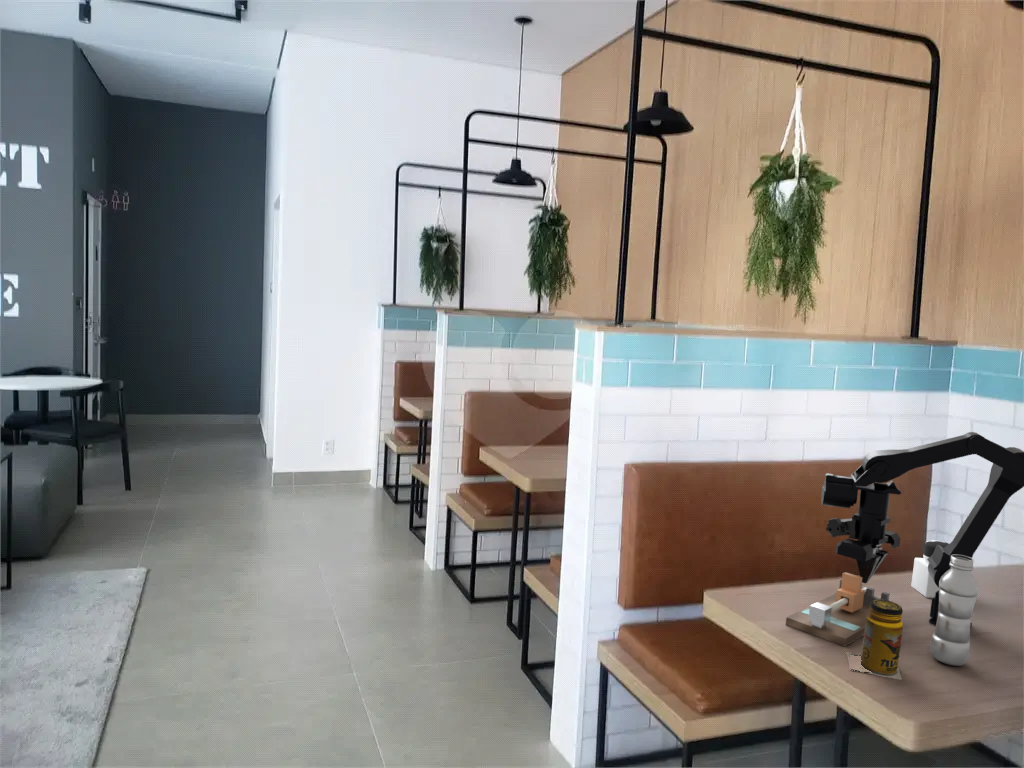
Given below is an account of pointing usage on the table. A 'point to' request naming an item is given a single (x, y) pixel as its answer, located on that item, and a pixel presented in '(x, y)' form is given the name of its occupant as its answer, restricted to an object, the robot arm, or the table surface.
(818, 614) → the block
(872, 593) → the cable comb
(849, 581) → the orange stepped block
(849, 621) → the cord board
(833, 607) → the cord
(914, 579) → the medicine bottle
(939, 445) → the robot arm
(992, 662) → the table surface
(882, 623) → the condiment
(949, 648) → the plastic bottle
